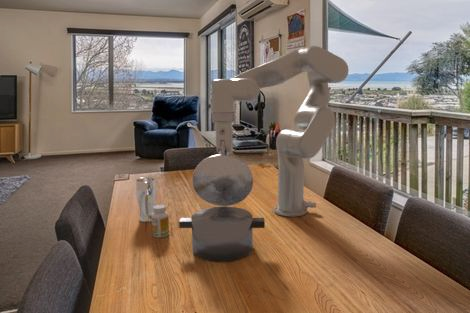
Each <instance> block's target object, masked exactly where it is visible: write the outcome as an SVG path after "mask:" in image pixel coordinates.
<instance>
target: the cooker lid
mask: <svg viewBox="0 0 470 313" xmlns="http://www.w3.org/2000/svg"><path fill="white" fill-rule="evenodd" d="M251 170H252V169H250V166H248V164H247V163H246V162H245V161H244V160H243V159H241V158H239V157H236V156H234V155H231V154H228V155H226V154H219V153H217V154H214V155H211V156H208V157H206V158H203V159H202V160H201V161H199V163H198V164H197V165H196V167H195V169H194V171H193V174H192V186H193V189H194V191H195V193H196V194H197V195H198V197H199V198H200V199H202V200H203V201H205V202H206V203H208V204H210V205H214V206H217V207H221V206H227V207H230V206H233V205H236V204H239V203H241V202H243V201H244V200H246V198H247V197H248V196H249V195H250V193H251V192H252V189H253V185H254V177H253V172H252V171H251Z"/></svg>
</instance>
